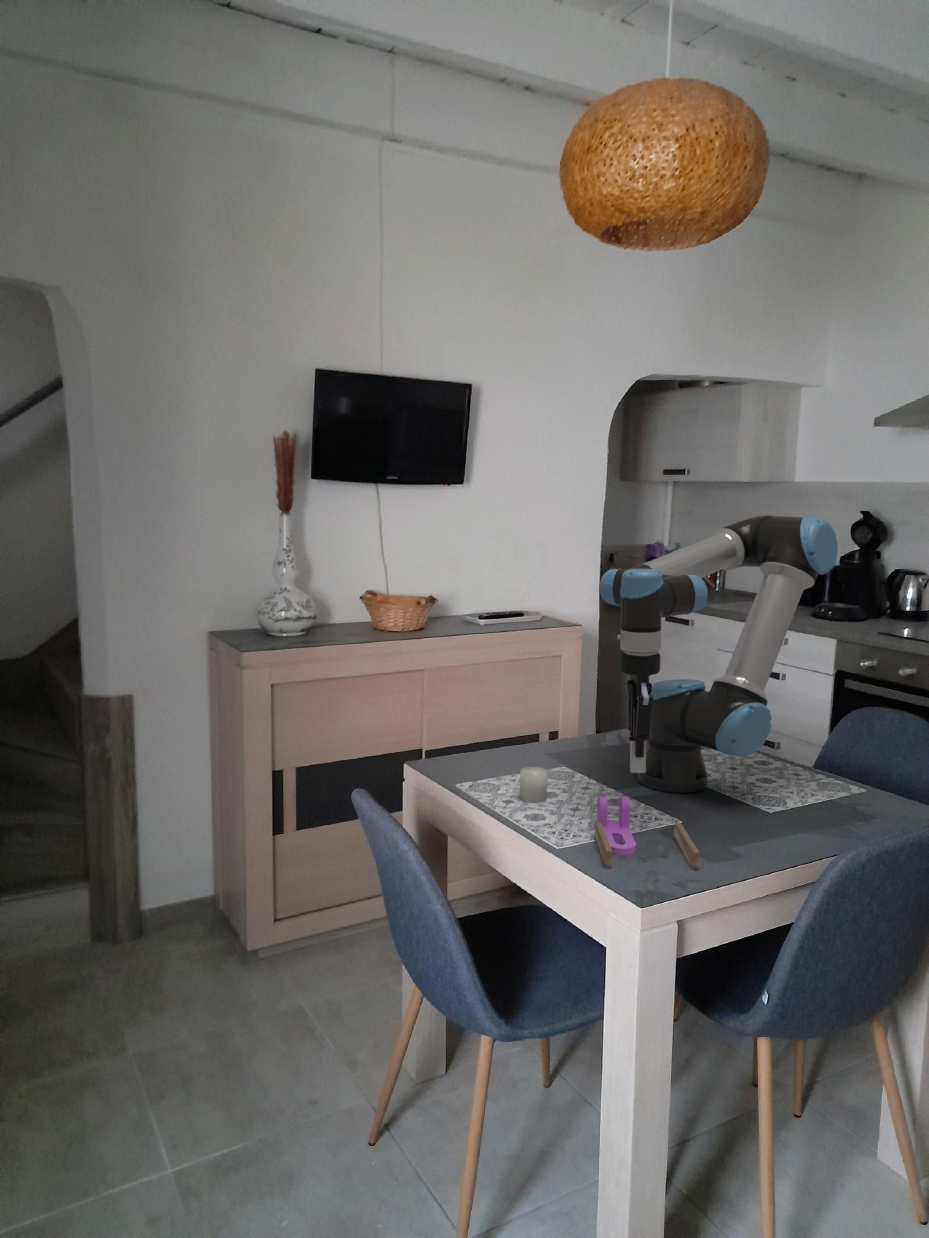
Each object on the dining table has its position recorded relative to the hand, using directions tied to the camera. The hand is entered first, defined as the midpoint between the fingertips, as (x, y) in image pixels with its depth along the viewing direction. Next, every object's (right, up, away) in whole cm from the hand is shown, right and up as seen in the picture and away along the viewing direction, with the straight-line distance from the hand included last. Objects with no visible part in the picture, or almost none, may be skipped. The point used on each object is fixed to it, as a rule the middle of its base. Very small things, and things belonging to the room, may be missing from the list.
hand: (637, 771), depth 170 cm
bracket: (-5, -12, -6) cm, 15 cm away
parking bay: (-1, -13, -11) cm, 17 cm away
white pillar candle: (-19, -8, +16) cm, 26 cm away
